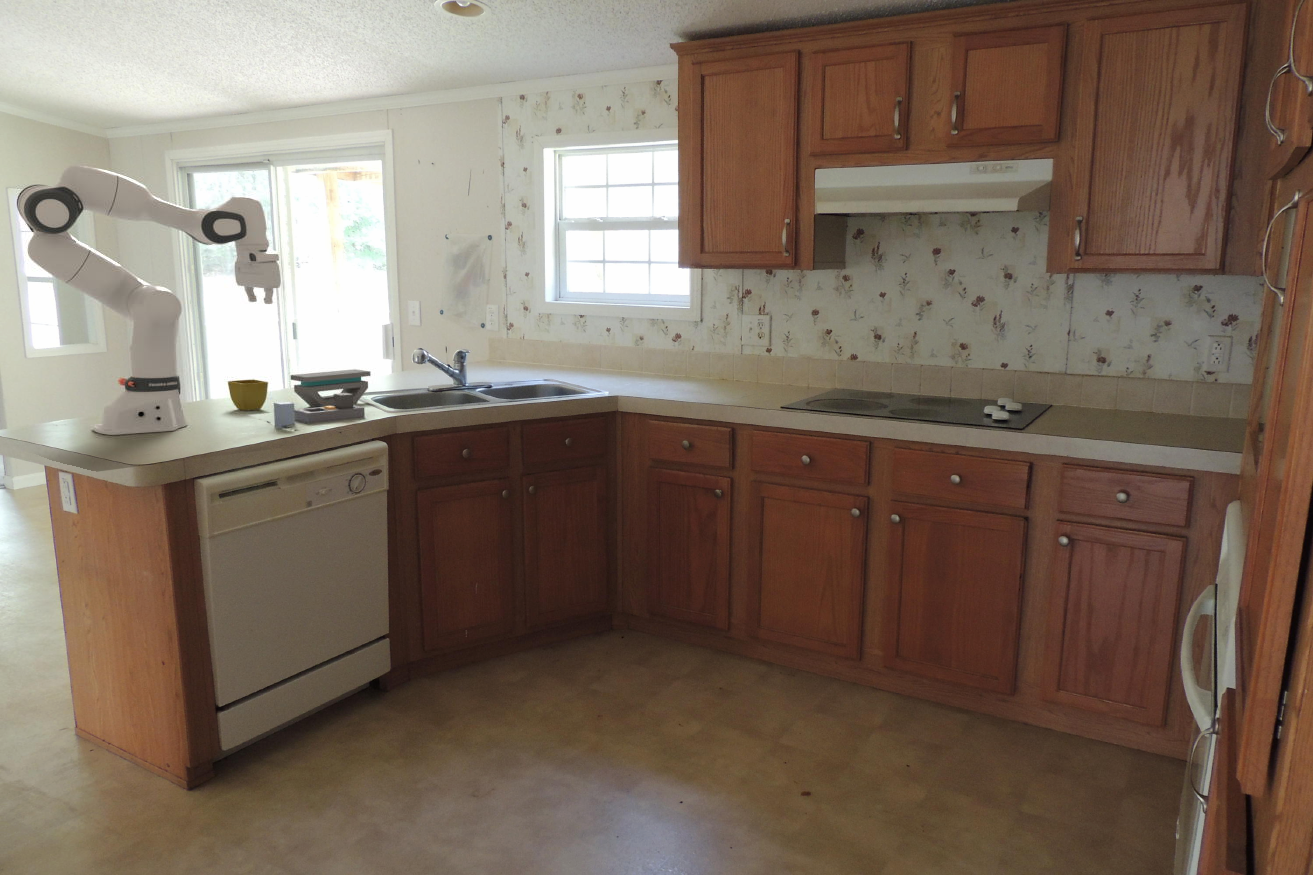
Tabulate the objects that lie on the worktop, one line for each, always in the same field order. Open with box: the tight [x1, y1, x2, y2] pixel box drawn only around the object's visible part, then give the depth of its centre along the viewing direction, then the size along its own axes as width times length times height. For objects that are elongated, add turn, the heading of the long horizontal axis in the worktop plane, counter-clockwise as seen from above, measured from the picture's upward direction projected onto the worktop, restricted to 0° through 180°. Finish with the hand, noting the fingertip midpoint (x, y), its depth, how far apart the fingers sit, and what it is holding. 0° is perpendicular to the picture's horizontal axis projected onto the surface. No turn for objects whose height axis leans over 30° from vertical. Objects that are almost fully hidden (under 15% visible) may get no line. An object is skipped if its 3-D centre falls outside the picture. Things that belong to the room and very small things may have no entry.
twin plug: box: [333, 392, 353, 409], centre depth 267 cm, size 4×4×7 cm
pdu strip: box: [294, 404, 366, 425], centre depth 264 cm, size 18×8×5 cm, turn 139°
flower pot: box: [227, 378, 269, 412], centre depth 280 cm, size 9×9×9 cm
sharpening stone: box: [290, 368, 372, 408], centre depth 293 cm, size 25×8×11 cm, turn 147°
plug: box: [273, 401, 296, 430], centre depth 254 cm, size 4×4×7 cm
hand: (260, 302), depth 258 cm, fingers open, 8 cm apart
